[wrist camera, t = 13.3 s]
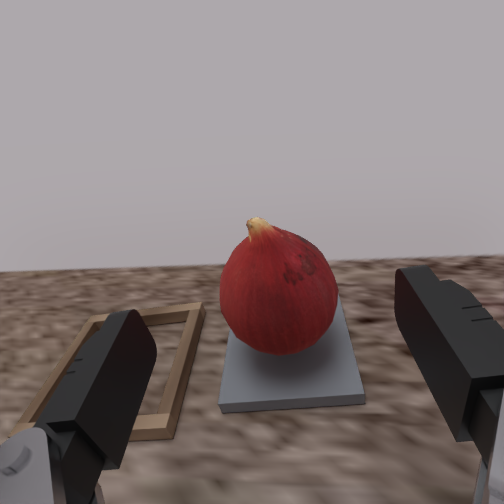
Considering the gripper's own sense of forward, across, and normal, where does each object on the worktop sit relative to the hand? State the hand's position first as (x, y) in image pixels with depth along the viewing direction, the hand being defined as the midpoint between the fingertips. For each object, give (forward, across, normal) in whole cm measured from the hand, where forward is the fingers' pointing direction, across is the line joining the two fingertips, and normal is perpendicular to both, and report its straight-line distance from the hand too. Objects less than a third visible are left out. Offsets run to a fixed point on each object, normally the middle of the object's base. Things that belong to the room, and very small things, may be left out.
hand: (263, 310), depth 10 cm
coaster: (+5, 0, +8) cm, 9 cm away
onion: (+5, 0, +7) cm, 9 cm away
